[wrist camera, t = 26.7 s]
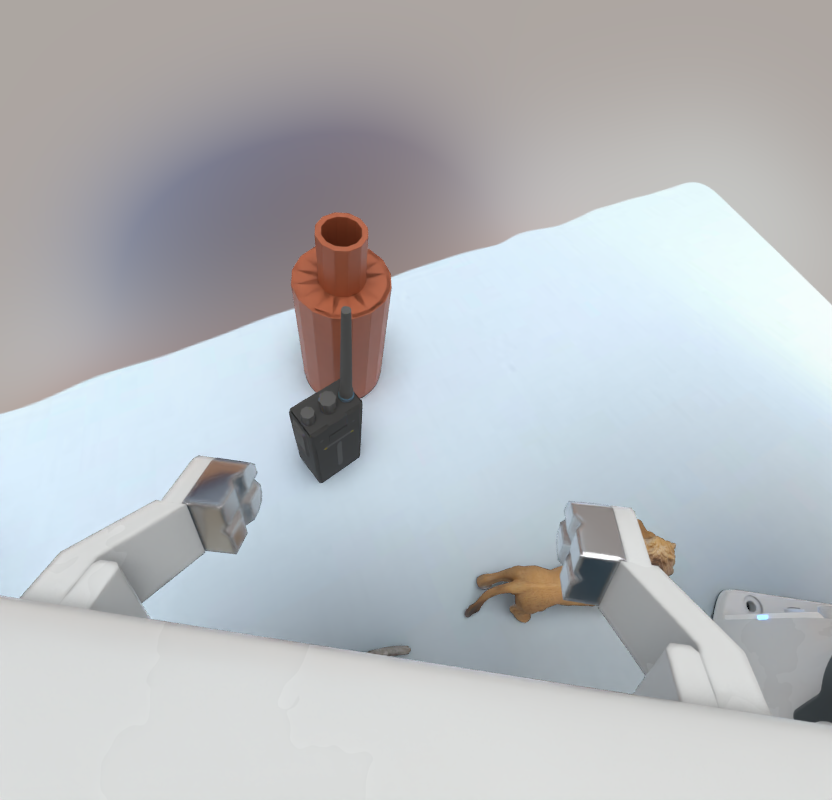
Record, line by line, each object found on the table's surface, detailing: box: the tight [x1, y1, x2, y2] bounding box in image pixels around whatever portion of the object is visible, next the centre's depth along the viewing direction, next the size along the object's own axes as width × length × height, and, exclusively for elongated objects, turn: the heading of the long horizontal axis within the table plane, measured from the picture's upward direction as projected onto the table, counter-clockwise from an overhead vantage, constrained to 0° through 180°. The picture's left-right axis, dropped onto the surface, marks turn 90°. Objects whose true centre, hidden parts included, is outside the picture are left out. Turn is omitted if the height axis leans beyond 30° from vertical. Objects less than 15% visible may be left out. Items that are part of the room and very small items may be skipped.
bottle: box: [291, 213, 391, 398], centre depth 38 cm, size 7×7×18 cm
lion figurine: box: [465, 519, 676, 623], centre depth 35 cm, size 15×5×9 cm, turn 108°
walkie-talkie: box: [289, 306, 362, 483], centre depth 33 cm, size 5×3×20 cm
